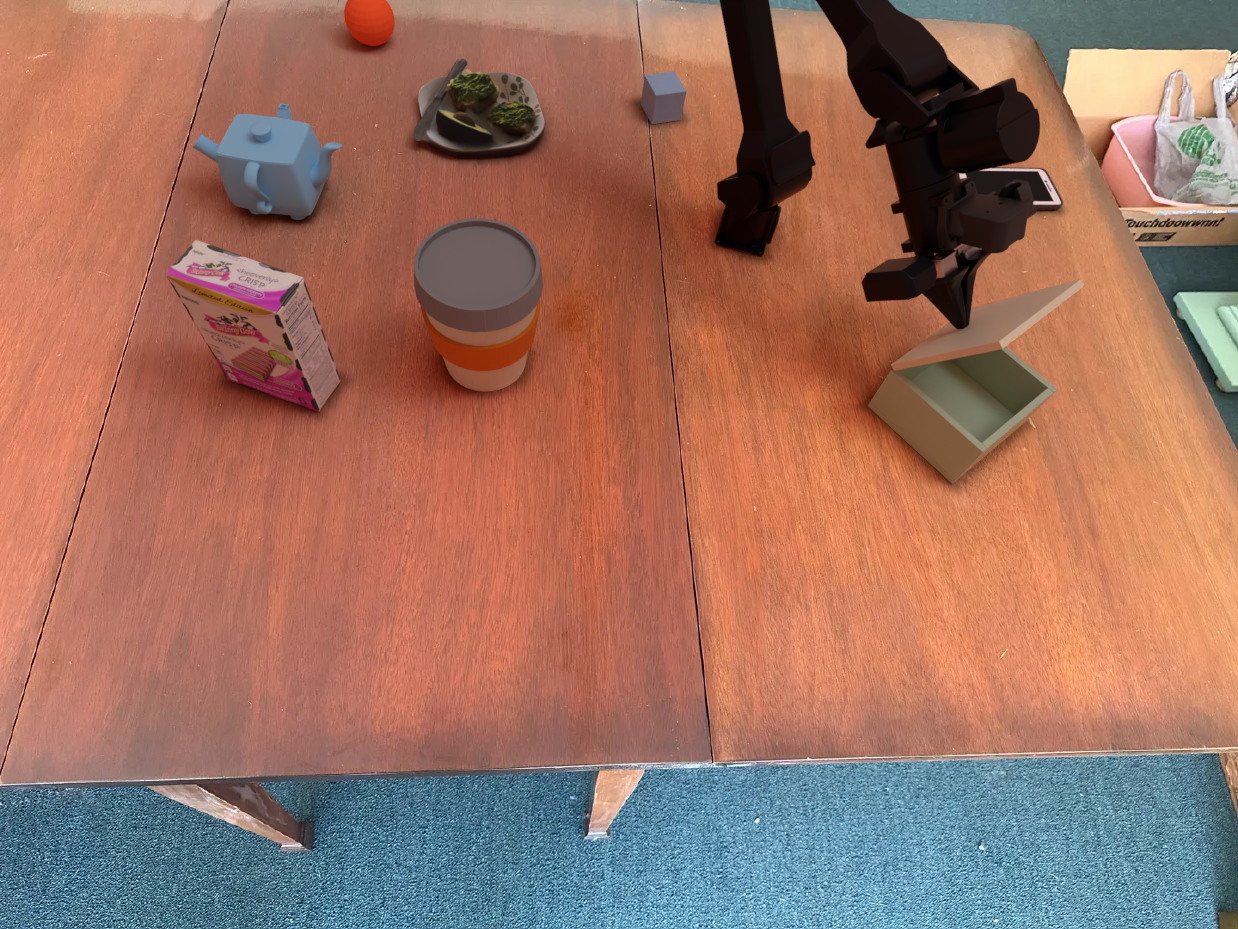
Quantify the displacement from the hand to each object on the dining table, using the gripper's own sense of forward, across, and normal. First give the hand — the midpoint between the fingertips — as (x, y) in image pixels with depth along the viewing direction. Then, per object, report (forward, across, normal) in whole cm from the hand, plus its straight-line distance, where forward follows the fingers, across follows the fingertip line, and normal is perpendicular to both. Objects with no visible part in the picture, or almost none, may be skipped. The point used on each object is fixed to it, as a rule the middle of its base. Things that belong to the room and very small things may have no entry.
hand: (962, 327), depth 81 cm
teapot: (-40, -44, +55) cm, 81 cm away
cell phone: (-3, +38, +19) cm, 42 cm away
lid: (0, 0, -2) cm, 3 cm away
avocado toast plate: (-39, -16, +55) cm, 69 cm away
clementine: (-56, -19, +71) cm, 93 cm away
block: (-31, +7, +46) cm, 56 cm away
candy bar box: (-22, -58, +37) cm, 72 cm away
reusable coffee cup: (-15, -38, +31) cm, 51 cm away
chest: (+11, 0, +5) cm, 12 cm away
